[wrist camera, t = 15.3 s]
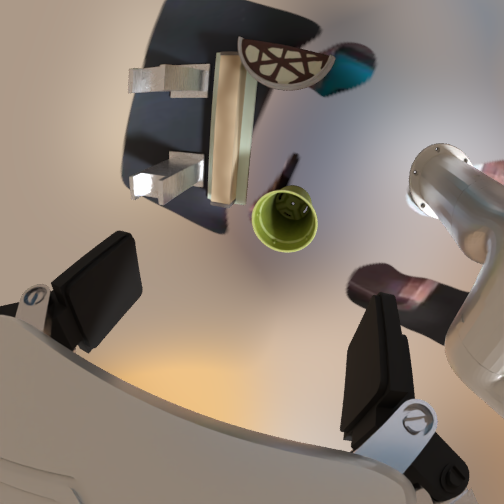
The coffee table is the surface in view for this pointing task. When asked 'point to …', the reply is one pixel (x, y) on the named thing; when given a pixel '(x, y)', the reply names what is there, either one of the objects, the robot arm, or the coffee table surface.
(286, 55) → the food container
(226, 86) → the rail
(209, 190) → the mat
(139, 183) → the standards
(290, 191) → the plant pot
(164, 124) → the coffee table surface
